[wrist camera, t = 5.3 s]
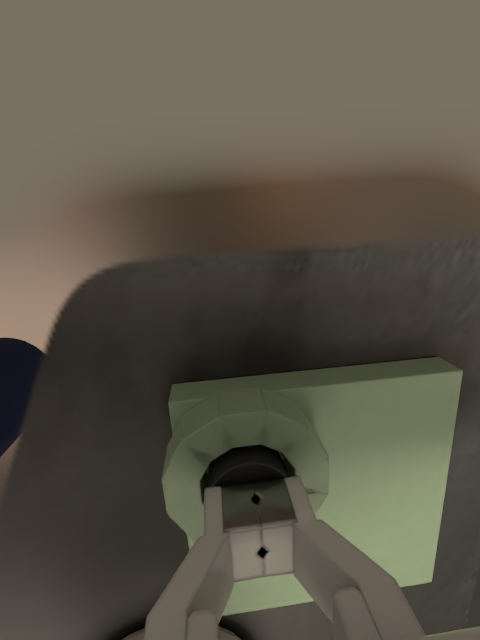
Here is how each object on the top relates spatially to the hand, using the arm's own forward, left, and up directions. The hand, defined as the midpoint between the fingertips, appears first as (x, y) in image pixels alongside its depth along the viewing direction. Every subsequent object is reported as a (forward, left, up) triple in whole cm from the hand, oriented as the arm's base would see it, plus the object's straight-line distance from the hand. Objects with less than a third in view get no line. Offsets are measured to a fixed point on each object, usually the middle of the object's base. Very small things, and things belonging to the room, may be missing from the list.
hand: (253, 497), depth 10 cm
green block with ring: (+3, -3, -4) cm, 5 cm away
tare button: (0, 0, -2) cm, 2 cm away
